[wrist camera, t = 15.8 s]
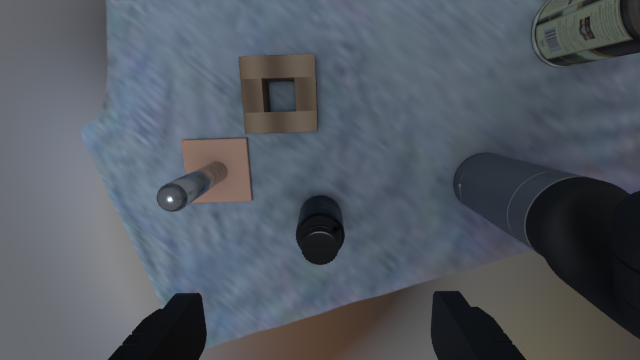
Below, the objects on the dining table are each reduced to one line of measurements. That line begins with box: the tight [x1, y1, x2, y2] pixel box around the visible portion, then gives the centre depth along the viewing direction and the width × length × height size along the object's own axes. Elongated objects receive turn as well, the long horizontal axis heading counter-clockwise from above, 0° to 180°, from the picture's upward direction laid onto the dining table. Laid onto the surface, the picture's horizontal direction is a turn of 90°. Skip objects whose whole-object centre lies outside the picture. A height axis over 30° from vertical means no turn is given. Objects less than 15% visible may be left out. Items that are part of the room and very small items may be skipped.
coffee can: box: [531, 0, 640, 67], centre depth 35 cm, size 10×10×14 cm
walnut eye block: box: [239, 54, 318, 134], centre depth 42 cm, size 10×10×5 cm
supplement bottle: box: [296, 196, 345, 265], centre depth 43 cm, size 7×7×12 cm
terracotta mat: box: [181, 138, 253, 203], centre depth 47 cm, size 10×10×1 cm
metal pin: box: [157, 161, 228, 212], centre depth 39 cm, size 3×3×16 cm
